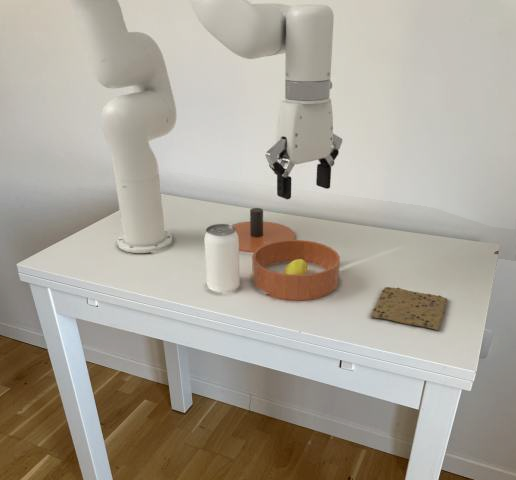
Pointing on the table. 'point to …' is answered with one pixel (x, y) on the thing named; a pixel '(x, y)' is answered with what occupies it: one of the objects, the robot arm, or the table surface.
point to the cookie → (410, 307)
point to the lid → (260, 232)
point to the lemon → (296, 267)
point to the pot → (295, 284)
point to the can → (222, 257)
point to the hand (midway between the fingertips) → (304, 192)
